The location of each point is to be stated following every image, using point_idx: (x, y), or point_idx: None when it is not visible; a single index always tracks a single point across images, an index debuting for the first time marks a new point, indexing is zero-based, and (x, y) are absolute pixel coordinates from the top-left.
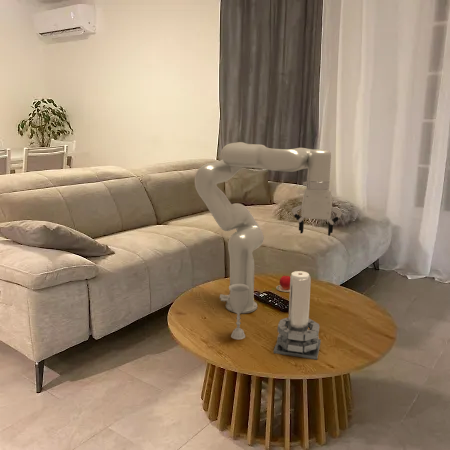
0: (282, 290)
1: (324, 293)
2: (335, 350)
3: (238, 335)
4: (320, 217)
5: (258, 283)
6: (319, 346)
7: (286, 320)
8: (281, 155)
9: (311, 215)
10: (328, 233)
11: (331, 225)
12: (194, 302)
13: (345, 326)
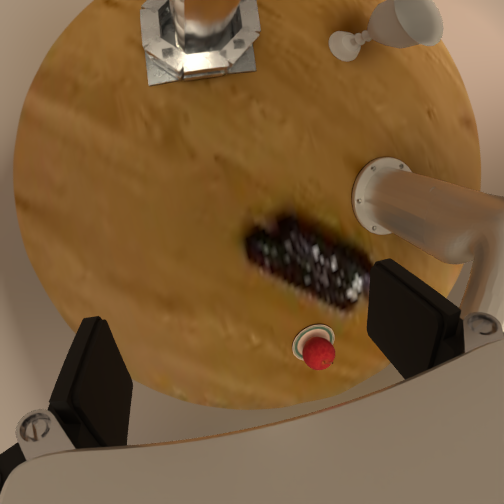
0: (317, 328)
1: (219, 363)
2: (108, 66)
3: (342, 32)
4: (184, 467)
5: None
6: (145, 54)
7: (242, 32)
8: None
9: (433, 424)
10: (96, 329)
11: (58, 412)
12: (462, 180)
13: (113, 204)
